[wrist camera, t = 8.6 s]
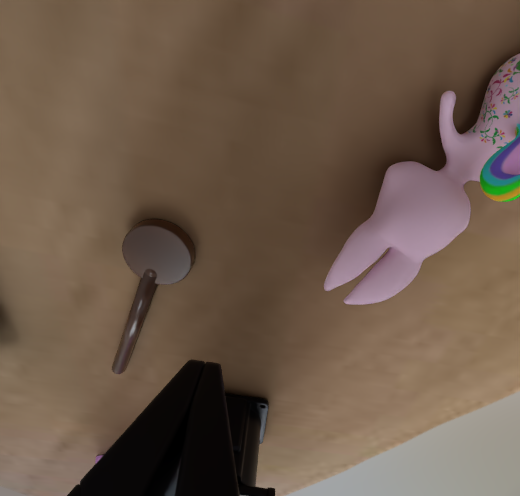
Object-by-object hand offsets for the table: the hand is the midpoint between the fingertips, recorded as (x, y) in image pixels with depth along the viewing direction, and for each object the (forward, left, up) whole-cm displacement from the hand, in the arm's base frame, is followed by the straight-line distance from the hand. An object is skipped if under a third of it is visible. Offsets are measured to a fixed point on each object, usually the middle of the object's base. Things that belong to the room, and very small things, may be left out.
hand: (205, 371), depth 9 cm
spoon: (-9, +8, -12) cm, 17 cm away
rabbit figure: (+2, -9, -12) cm, 15 cm away
